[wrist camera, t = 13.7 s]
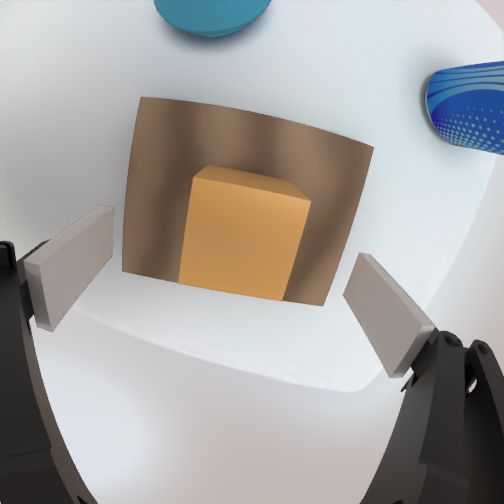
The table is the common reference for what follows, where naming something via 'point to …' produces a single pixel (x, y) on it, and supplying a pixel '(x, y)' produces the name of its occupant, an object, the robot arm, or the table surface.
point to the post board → (244, 159)
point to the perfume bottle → (211, 15)
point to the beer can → (469, 106)
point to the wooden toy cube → (242, 232)
